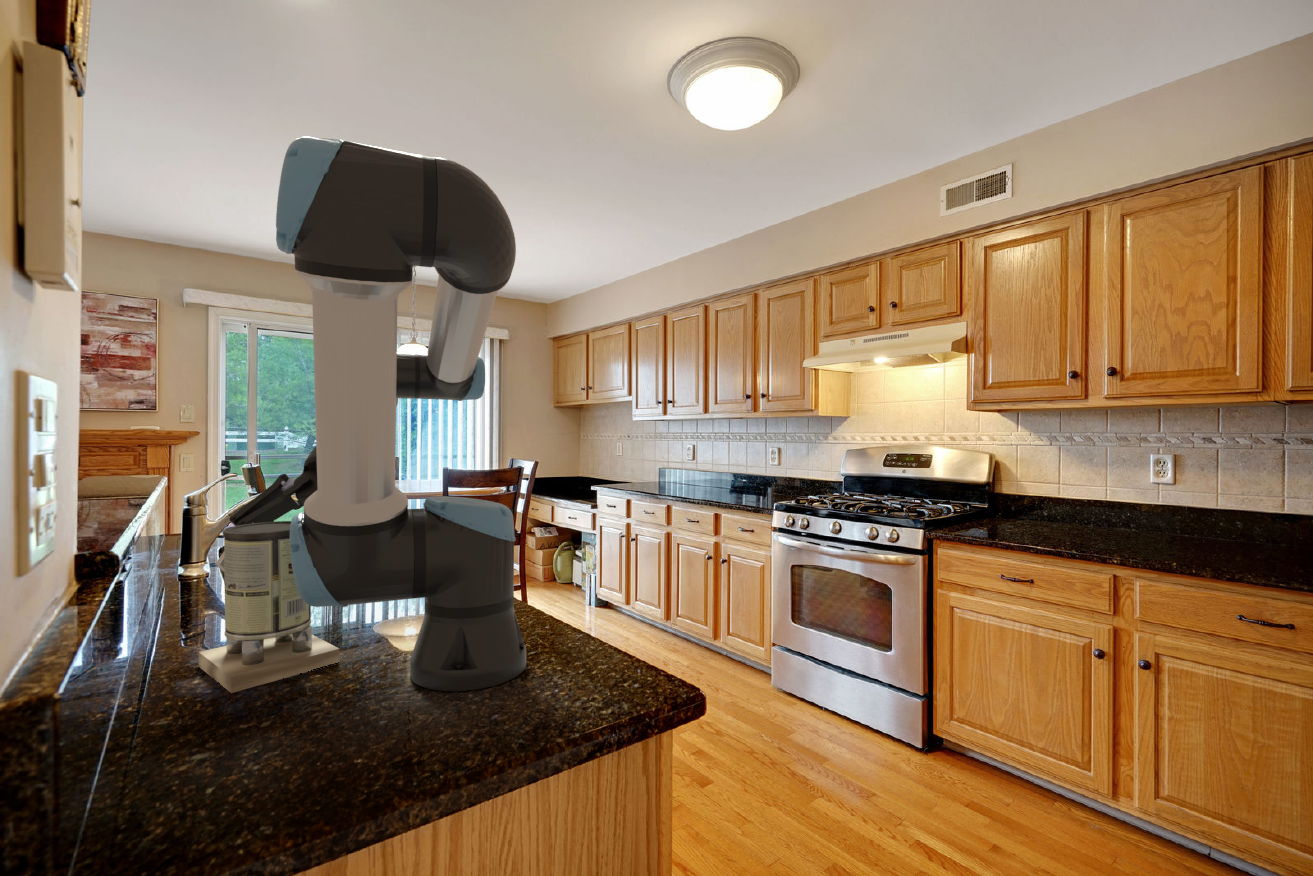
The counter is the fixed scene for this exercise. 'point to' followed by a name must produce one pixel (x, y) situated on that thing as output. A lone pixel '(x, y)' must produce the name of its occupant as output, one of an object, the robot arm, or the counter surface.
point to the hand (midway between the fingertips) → (266, 572)
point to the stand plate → (265, 663)
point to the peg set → (255, 648)
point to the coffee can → (261, 583)
